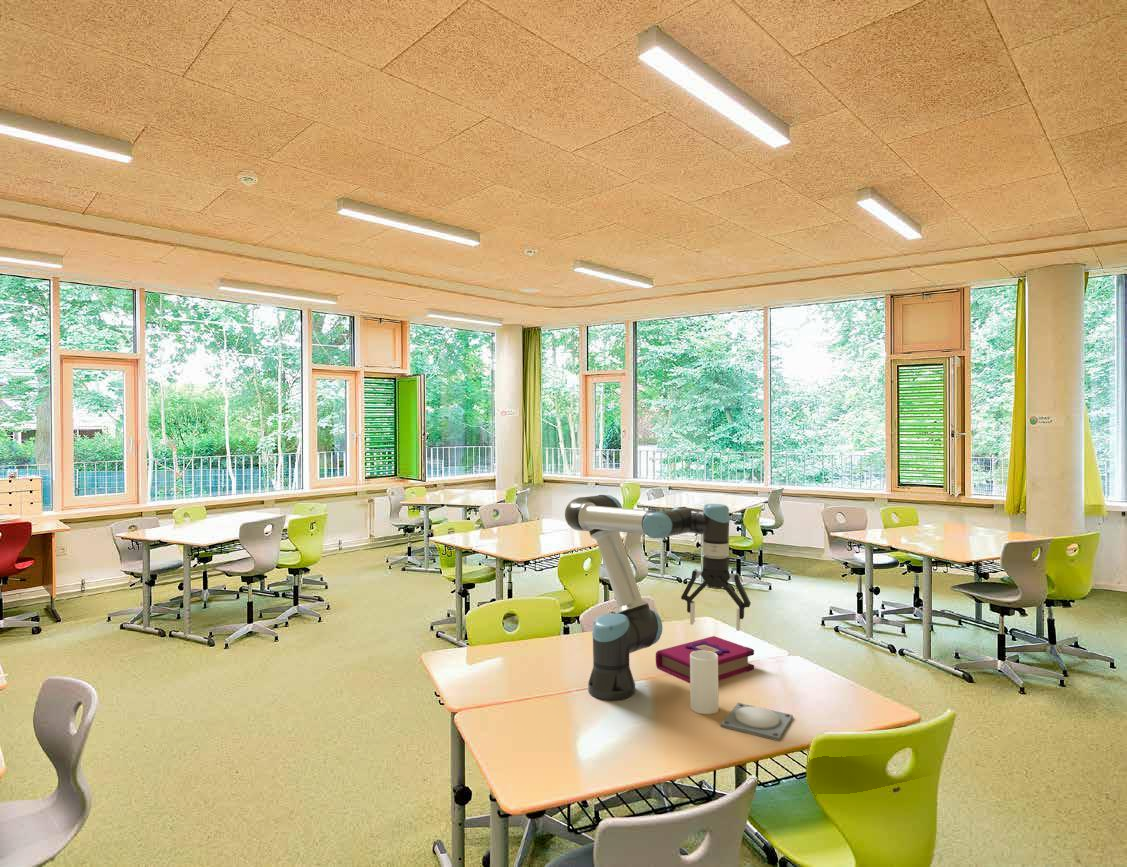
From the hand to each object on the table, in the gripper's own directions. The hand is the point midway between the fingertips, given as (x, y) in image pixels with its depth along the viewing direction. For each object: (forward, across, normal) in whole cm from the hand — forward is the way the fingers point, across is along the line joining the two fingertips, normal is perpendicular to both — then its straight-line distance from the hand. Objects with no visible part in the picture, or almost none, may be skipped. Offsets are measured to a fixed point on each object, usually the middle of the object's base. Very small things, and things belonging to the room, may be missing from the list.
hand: (715, 626), depth 189 cm
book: (+26, -8, +30) cm, 41 cm away
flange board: (+24, +13, -6) cm, 28 cm away
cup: (+25, -2, -2) cm, 25 cm away
